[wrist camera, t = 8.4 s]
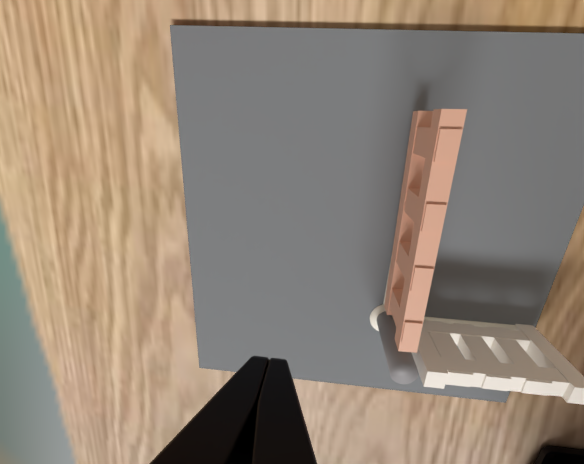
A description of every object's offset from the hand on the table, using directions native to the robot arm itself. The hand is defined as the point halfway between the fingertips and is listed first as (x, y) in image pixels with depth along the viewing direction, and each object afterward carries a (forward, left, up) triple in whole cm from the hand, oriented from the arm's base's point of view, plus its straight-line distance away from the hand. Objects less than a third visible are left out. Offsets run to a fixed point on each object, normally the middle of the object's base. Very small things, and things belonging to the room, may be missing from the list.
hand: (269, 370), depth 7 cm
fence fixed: (-10, +6, -12) cm, 17 cm away
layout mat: (-4, +1, -12) cm, 12 cm away
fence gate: (-6, 0, -11) cm, 13 cm away
